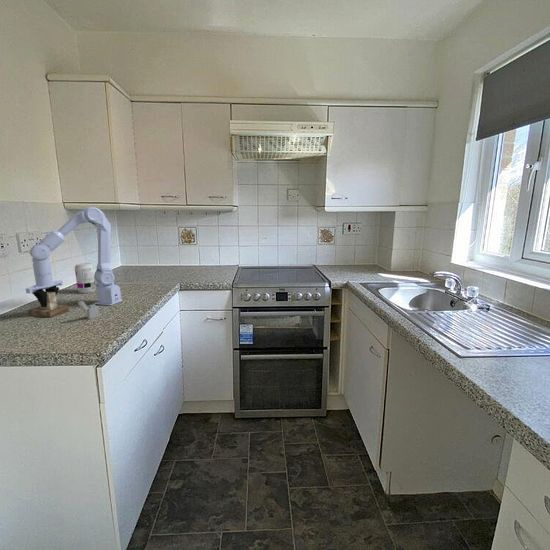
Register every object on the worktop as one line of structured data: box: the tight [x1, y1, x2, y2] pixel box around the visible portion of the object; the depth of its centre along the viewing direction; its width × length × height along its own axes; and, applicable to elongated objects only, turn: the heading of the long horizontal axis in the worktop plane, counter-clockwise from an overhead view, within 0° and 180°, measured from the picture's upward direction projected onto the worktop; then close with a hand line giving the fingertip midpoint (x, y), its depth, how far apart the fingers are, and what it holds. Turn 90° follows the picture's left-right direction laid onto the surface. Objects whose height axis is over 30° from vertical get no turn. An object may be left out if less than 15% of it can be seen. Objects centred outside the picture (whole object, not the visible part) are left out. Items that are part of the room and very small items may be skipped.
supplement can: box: [74, 262, 97, 294], centre depth 164 cm, size 8×8×15 cm
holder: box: [28, 304, 70, 318], centre depth 131 cm, size 11×8×2 cm
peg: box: [37, 292, 58, 310], centre depth 130 cm, size 3×6×8 cm, turn 76°
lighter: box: [77, 300, 100, 320], centre depth 124 cm, size 7×2×8 cm, turn 156°
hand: (48, 305), depth 130 cm, fingers closed on peg, 3 cm apart
